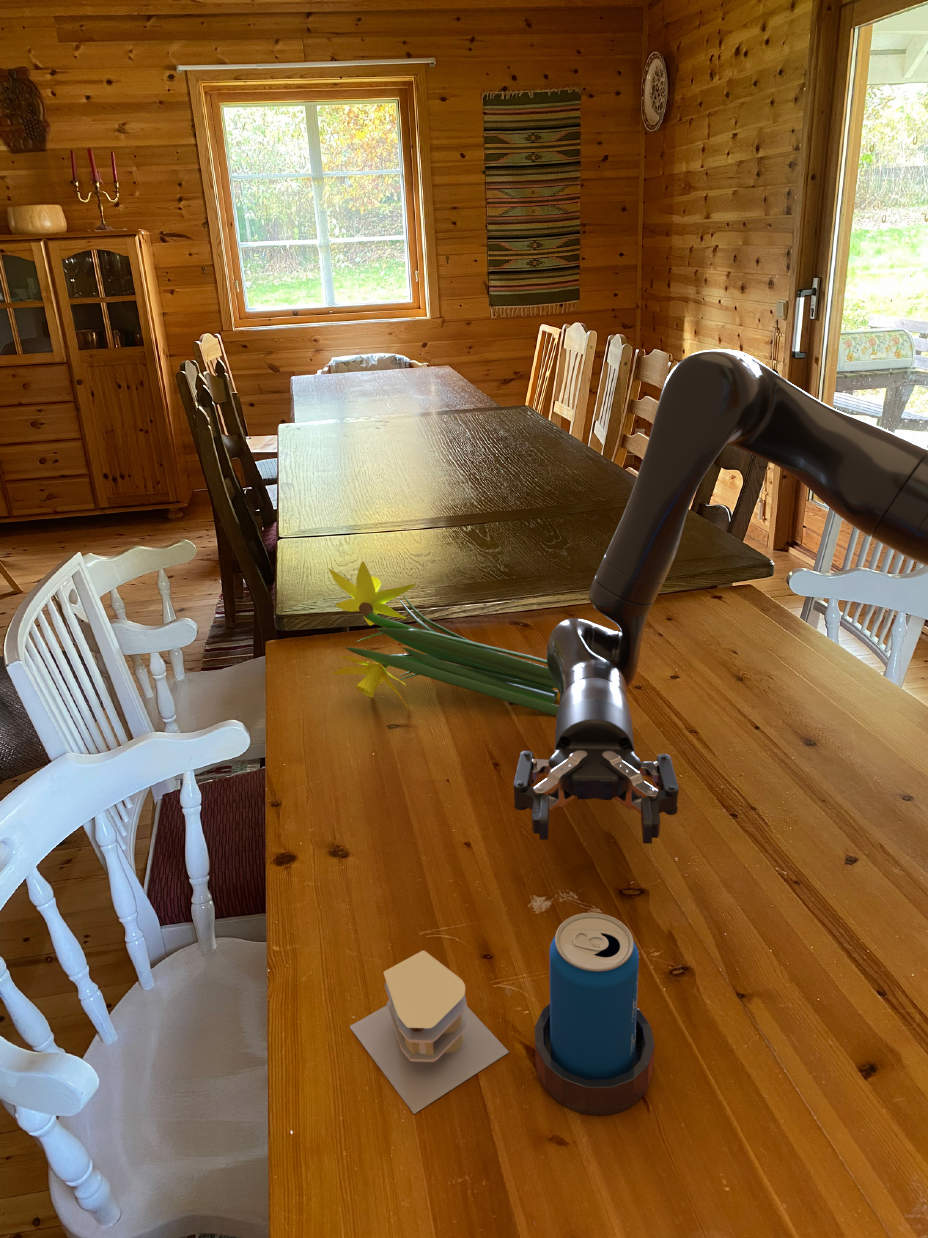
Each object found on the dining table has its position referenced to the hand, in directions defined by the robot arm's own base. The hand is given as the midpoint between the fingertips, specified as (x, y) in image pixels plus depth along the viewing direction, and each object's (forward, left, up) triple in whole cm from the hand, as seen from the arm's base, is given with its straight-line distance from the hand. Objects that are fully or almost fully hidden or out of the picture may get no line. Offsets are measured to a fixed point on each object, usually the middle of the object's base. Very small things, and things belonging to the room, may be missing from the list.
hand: (595, 833), depth 76 cm
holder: (-3, +10, -14) cm, 17 cm away
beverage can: (-3, +10, -13) cm, 17 cm away
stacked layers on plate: (+10, +13, -14) cm, 22 cm away
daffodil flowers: (+33, -39, -14) cm, 52 cm away
